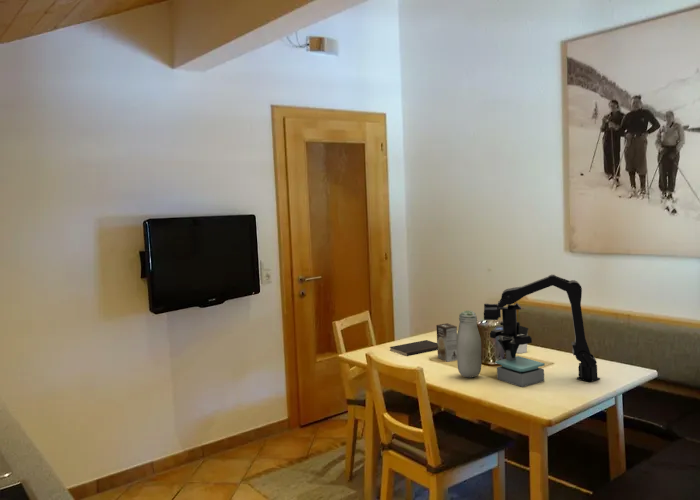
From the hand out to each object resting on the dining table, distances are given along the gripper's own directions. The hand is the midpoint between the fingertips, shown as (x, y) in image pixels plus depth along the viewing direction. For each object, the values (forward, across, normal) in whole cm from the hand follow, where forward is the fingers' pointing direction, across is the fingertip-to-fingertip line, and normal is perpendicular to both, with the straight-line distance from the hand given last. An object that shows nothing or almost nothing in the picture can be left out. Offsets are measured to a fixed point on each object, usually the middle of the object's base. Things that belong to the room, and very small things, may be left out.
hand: (511, 357), depth 250 cm
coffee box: (+9, +41, +1) cm, 42 cm away
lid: (+3, -5, 0) cm, 6 cm away
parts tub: (+9, -5, 0) cm, 10 cm away
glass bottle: (+9, +12, +12) cm, 19 cm away
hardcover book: (+9, +66, +1) cm, 67 cm away
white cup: (+9, +29, -33) cm, 45 cm away
